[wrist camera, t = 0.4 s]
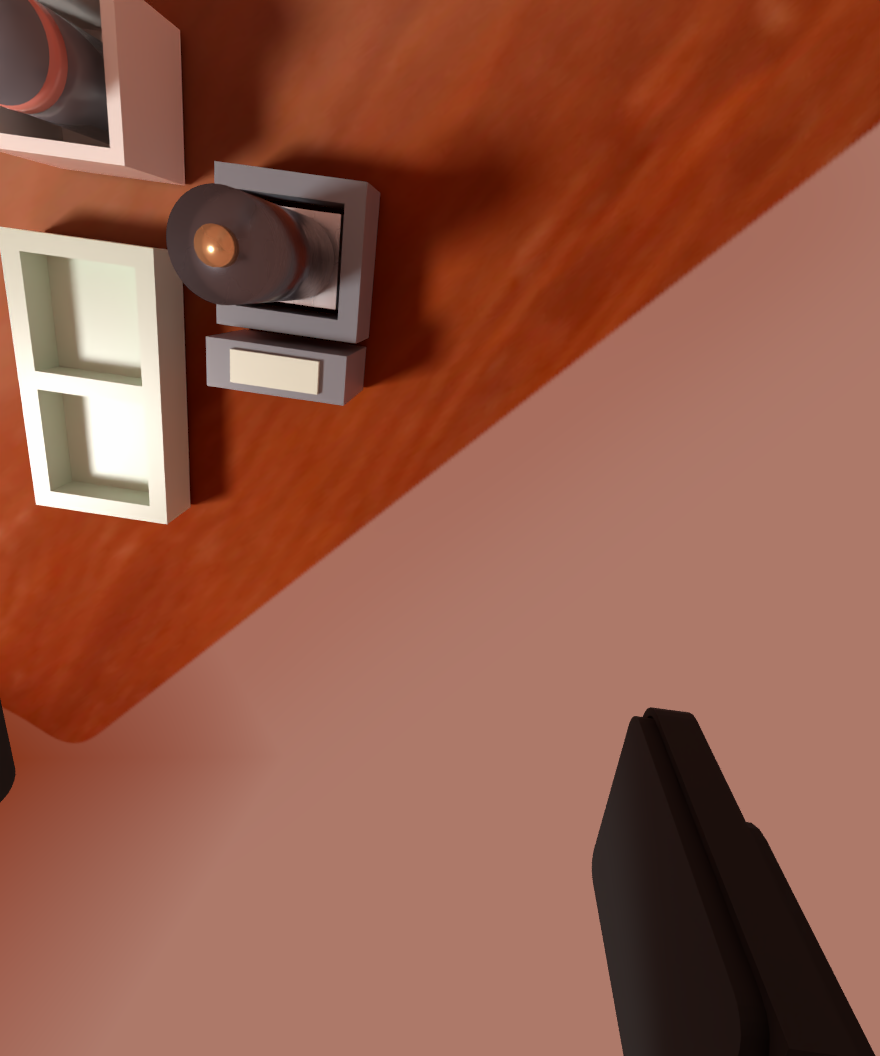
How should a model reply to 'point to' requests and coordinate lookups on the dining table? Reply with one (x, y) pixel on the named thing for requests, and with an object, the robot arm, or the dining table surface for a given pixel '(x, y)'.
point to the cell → (246, 248)
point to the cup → (92, 87)
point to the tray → (100, 373)
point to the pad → (335, 233)
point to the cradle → (291, 359)
